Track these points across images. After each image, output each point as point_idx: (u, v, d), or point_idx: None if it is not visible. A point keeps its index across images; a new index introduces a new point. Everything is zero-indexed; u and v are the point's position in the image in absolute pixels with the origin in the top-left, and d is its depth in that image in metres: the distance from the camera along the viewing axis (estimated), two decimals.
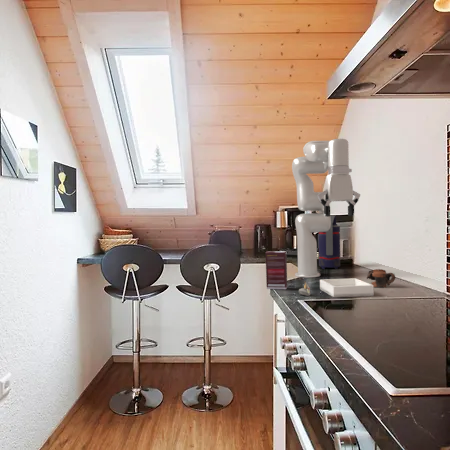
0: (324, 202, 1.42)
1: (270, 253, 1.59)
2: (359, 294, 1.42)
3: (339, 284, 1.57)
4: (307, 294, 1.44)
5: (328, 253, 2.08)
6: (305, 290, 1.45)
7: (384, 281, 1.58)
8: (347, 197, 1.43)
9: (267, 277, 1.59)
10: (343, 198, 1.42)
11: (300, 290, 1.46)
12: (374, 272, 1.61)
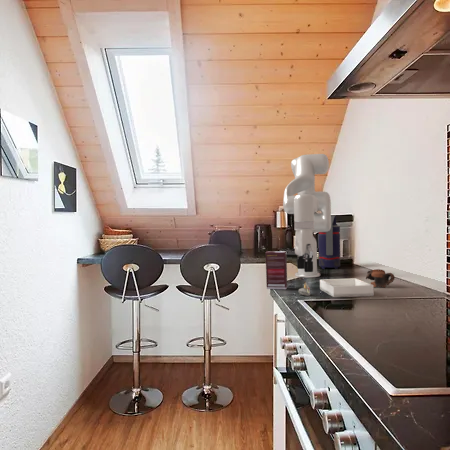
0: None
1: (270, 253, 1.59)
2: (359, 294, 1.42)
3: (339, 284, 1.57)
4: (307, 294, 1.44)
5: (328, 253, 2.08)
6: (305, 290, 1.45)
7: (383, 281, 1.57)
8: None
9: (267, 277, 1.59)
10: None
11: (300, 290, 1.46)
12: (373, 272, 1.60)
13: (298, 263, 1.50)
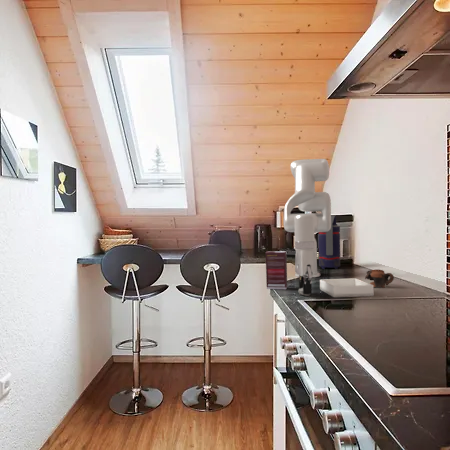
0: None
1: (270, 253, 1.59)
2: (359, 294, 1.42)
3: (339, 284, 1.57)
4: (307, 294, 1.44)
5: (328, 253, 2.08)
6: None
7: (383, 281, 1.57)
8: None
9: (267, 277, 1.59)
10: None
11: (300, 290, 1.46)
12: (372, 272, 1.60)
13: (300, 285, 1.49)
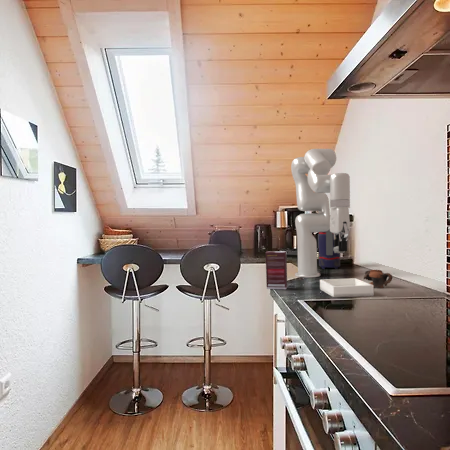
0: None
1: (270, 253, 1.59)
2: (359, 294, 1.42)
3: (339, 284, 1.57)
4: (342, 251, 1.47)
5: (328, 253, 2.08)
6: None
7: (381, 281, 1.56)
8: None
9: (267, 277, 1.59)
10: None
11: (335, 248, 1.48)
12: (371, 272, 1.60)
13: (335, 244, 1.51)
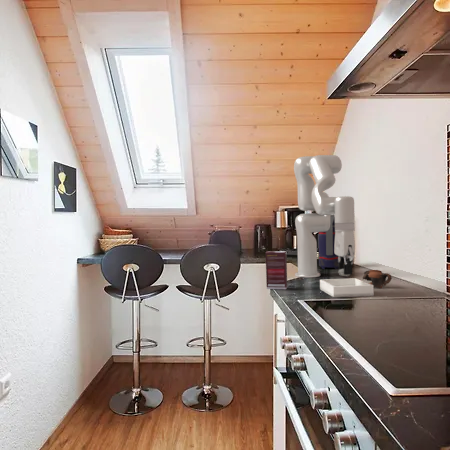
0: None
1: (270, 253, 1.59)
2: (359, 294, 1.42)
3: (339, 284, 1.57)
4: (347, 274, 1.48)
5: (328, 253, 2.08)
6: None
7: (380, 282, 1.56)
8: None
9: (267, 277, 1.59)
10: None
11: (340, 270, 1.49)
12: (370, 273, 1.59)
13: (340, 267, 1.52)
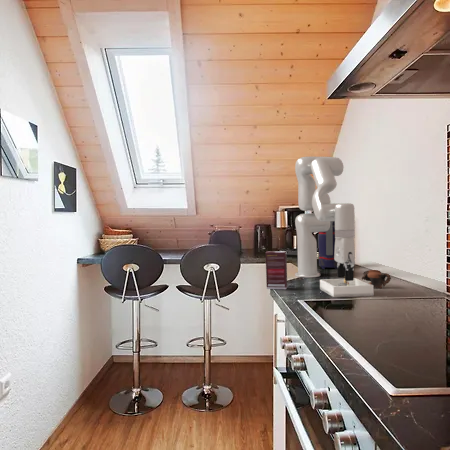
0: None
1: (270, 253, 1.59)
2: (359, 294, 1.42)
3: None
4: None
5: (328, 253, 2.08)
6: (345, 284, 1.49)
7: (380, 282, 1.56)
8: None
9: (267, 277, 1.59)
10: None
11: (340, 284, 1.49)
12: (369, 273, 1.59)
13: (338, 272, 1.53)
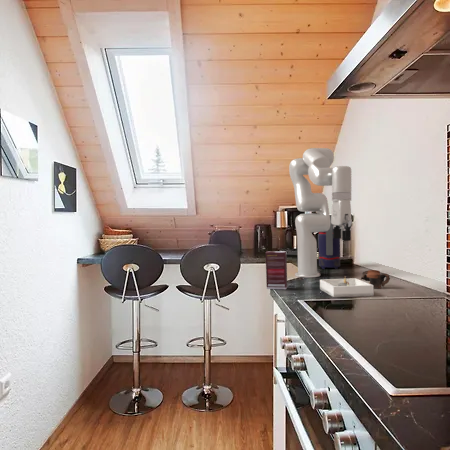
0: None
1: (270, 253, 1.59)
2: (359, 294, 1.42)
3: None
4: None
5: (328, 253, 2.08)
6: (345, 284, 1.49)
7: (379, 282, 1.56)
8: None
9: (267, 277, 1.59)
10: None
11: (340, 284, 1.49)
12: (368, 273, 1.59)
13: (334, 233, 1.56)
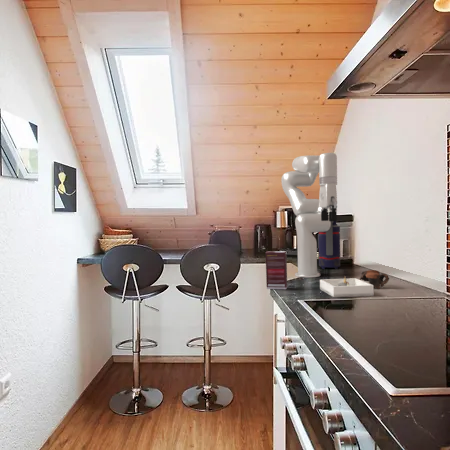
0: None
1: (270, 253, 1.59)
2: (359, 294, 1.42)
3: None
4: None
5: (328, 253, 2.08)
6: (345, 284, 1.49)
7: (378, 282, 1.55)
8: None
9: (267, 277, 1.59)
10: None
11: (340, 284, 1.49)
12: (367, 273, 1.58)
13: (322, 216, 1.68)
